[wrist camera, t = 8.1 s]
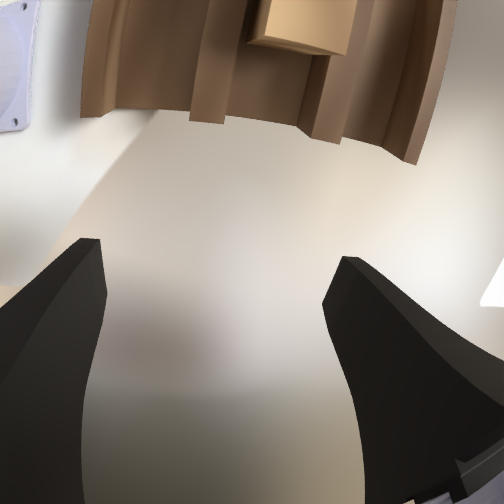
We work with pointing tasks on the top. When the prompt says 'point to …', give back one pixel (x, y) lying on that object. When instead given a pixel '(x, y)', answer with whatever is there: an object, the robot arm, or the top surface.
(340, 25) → the tall wooden plank
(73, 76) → the top surface
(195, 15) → the notched ledge
